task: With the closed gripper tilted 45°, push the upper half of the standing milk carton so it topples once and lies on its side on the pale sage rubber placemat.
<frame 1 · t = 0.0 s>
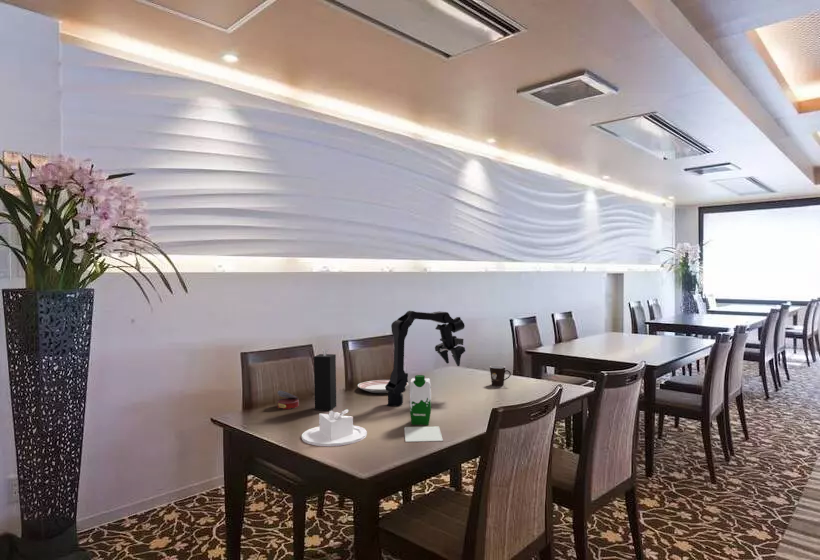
hand: (453, 364, 272), 15 cm above the table, tool pointing down, fingers open, 9 cm apart
dinner plate: (383, 390, 287), on the table
canned food: (288, 407, 253), on the table
placemat: (422, 434, 207), on the table
tall black box: (325, 408, 248), on the table
milk carton: (420, 423, 223), on the table
dish: (334, 437, 206), on the table
coffee mug: (499, 385, 293), on the table
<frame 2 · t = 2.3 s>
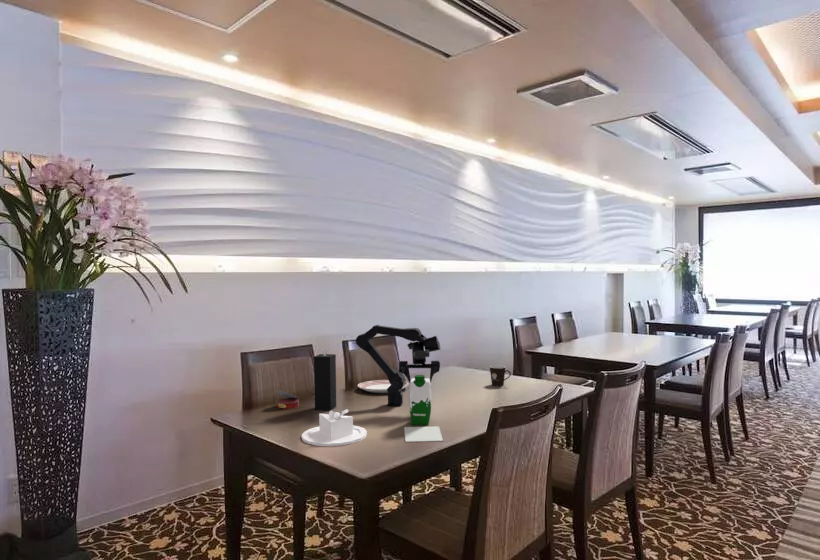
hand: (420, 382, 238), 14 cm above the table, tool tilted 45°, fingers open, 9 cm apart
nothing on the table moved.
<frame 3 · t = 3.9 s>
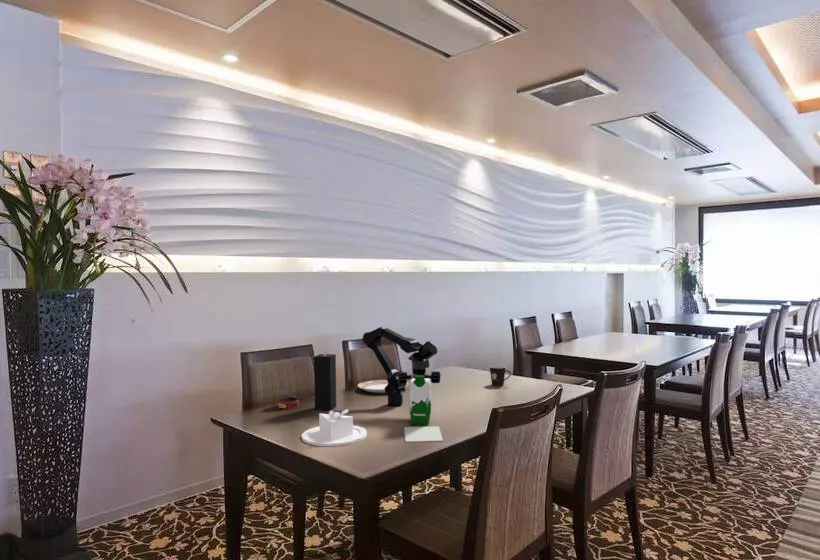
hand: (420, 394, 232), 10 cm above the table, tool tilted 45°, fingers closed
nothing on the table moved.
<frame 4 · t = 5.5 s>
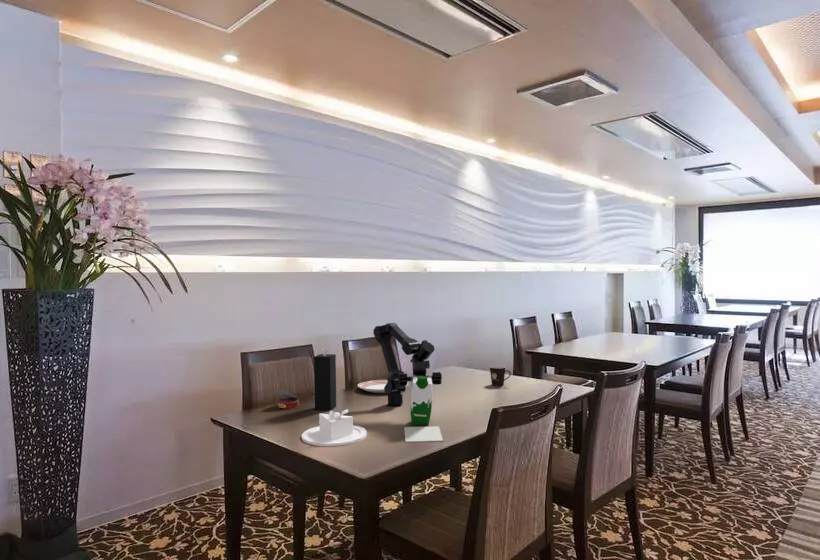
hand: (420, 395, 224), 11 cm above the table, tool tilted 45°, fingers closed
milk carton: (420, 421, 222), on the table, touching gripper
everything else where it was.
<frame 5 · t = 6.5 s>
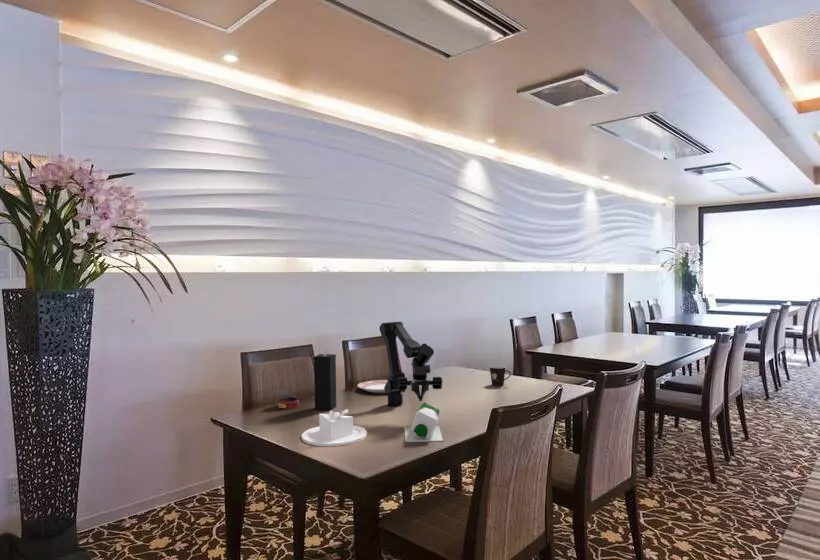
hand: (420, 400, 220), 10 cm above the table, tool tilted 45°, fingers closed
milk carton: (428, 413, 218), point 5 cm above the table, touching placemat
everything else where it was.
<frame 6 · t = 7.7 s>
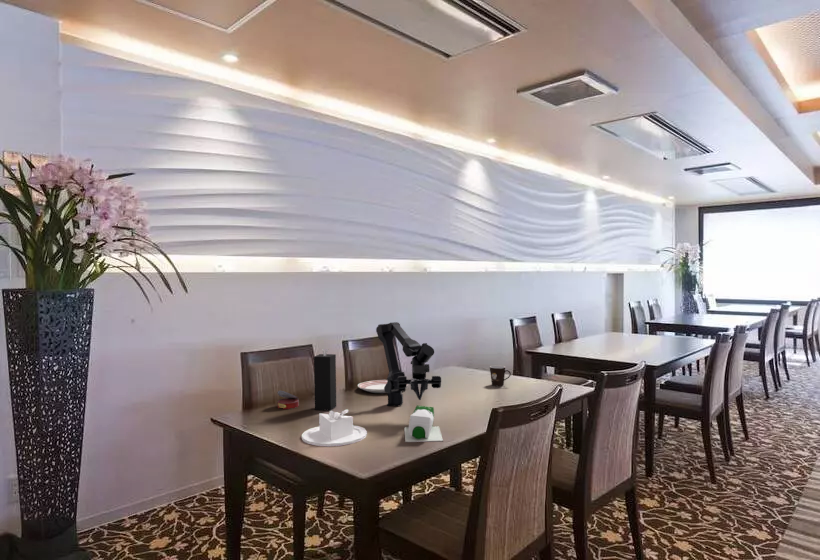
hand: (419, 399, 223), 10 cm above the table, tool tilted 45°, fingers closed
milk carton: (424, 414, 218), point 4 cm above the table, touching placemat
everything else where it was.
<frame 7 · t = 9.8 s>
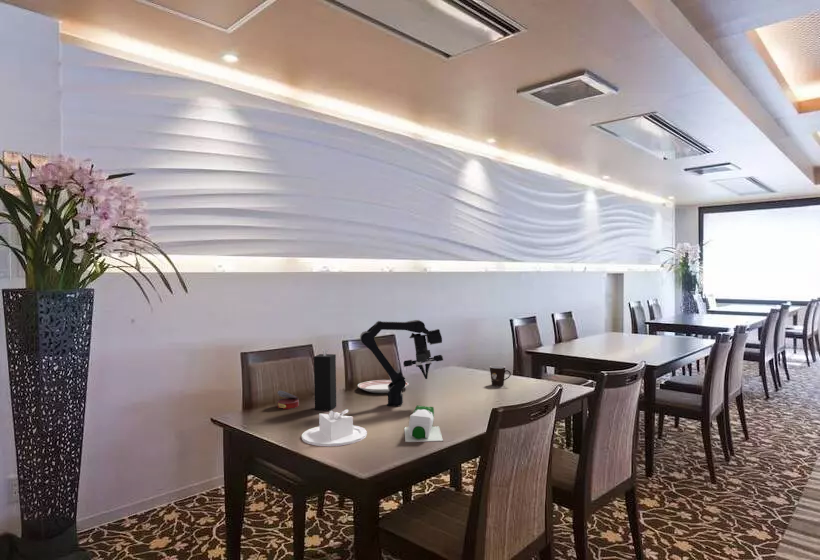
hand: (426, 379, 252), 12 cm above the table, tool pointing down, fingers closed
nothing on the table moved.
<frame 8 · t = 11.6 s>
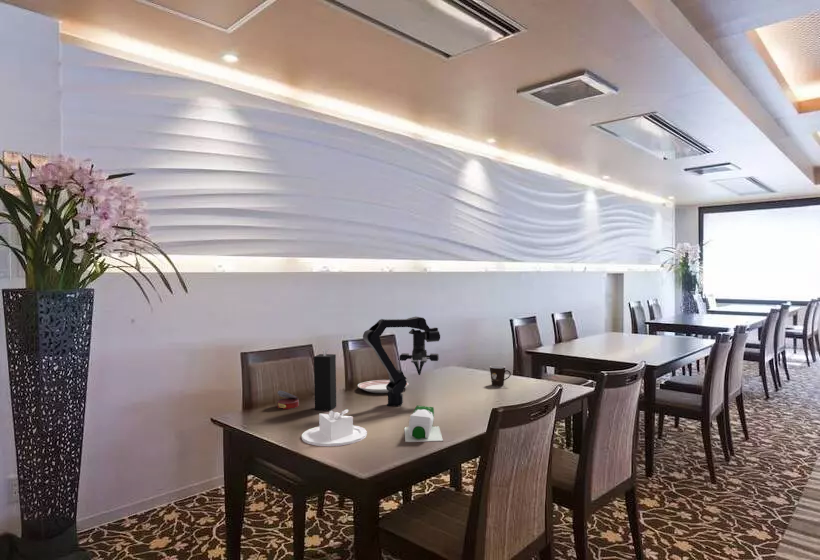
hand: (419, 374, 259), 13 cm above the table, tool pointing down, fingers closed
nothing on the table moved.
at the end: milk carton tilted 89°; milk carton touching placemat; milk carton inside the target area (8.0 cm from its centre), point 4.5 cm above the table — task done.
